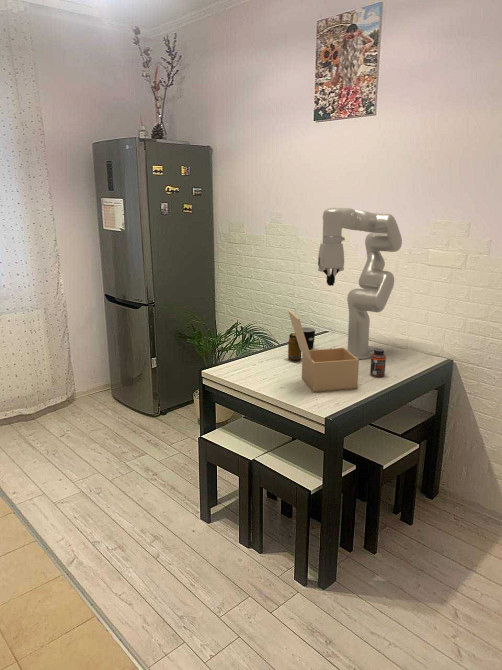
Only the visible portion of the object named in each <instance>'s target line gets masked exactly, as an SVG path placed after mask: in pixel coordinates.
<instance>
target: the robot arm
mask: <svg viewBox="0 0 502 670" xmlns="http://www.w3.org/2000/svg"><path fill="white" fill-rule="evenodd" d="M342 229H345V230H351V231H359V232H366V233H368V234H367V235H366V237H365V239H364V245H365V249H366V250H365V251H366V262H365V264H364V266H363V269H362V271H361V274H360V276H359V279H358V285H359V286H358V287H360V288H353V289H351V290H349V292H348V294H347V299H346V300H347V308H348V329H347V330H348V331H347V349H346V350H347V351H349V352H350V353H351V354H352V355H354V356H355V357H356V358H357V359H359V360H366V359H371V355H372V353H373V352H374V349H376V348H379V347H378V346H375V347H374V346H373V345H371V346H370V344H369V342H370V341H369V340H370V322H371V321H370V320H371V319H370V315H369V314H368V312H372V313H381V312H383V311H384V309H385V307H386V305H387V303H388V300H389V299H390V296H391V294H392V292H393V288H394V286H395V284H394V283H395V277H394V274H393V273H392V272H391V271H388V270H385V269H384V268H385V265H386V262H385V259H384V257H383V255H382V254H381V252H389V253H395V252H398V251H400V249H401V248H402V245H403V240H402V239H403V238H402V234H401V232H400V229H399V224H398V222H397V220H396V219H395V217H394V215H392V214H391V213H377V212H376V213H375V212H370V211H364V210H358V209H357V210H355V209H353V208H351V207H329V208H326V209H325V210H324V211H323V213H322V243H320V244H319V248H318V249H319V250H318V254H317V255H318V257H317V266H318V268H317V270H318V272H322V273H324V274H325V275H326V284H327V286H329V287H331V286H334V284H335V282H336V281H335V279H336V276H337V274H338V273H339V272H341V271H344V270H345V268H344V267H345V250H344V245H343V241H345V240H346V238H345V237H344V236H343V235H342V234H343V233H342V231H343V230H342Z"/></svg>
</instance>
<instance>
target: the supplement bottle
mask: <svg viewBox="0 0 502 670" xmlns="http://www.w3.org/2000/svg"><path fill="white" fill-rule="evenodd" d="M386 360H387V356H386V354H385V349H384V348H379V347H378V348H376V349H374V351H373V352H372V353H371V357H370V371H369V373H370V376H372V377H375V378H382V377H384V376H385V373H386V362H387V361H386Z"/></svg>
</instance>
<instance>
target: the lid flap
mask: <svg viewBox="0 0 502 670" xmlns="http://www.w3.org/2000/svg"><path fill="white" fill-rule="evenodd" d="M287 312H288V315H289V319H290V321H291V325H292V327H293V331H294V332H293V333H295V335H296V338H297V341H298V345H299V348H300V350H301V353H302V352H303V353H304V354H305V355H306V357H307V358H308V359H309V360H310V361H312V359H311V355H310V352H309V349H308V346H307V342H306V339H305V336H304V332H303V329H302V327H303V326H302V323H301V320H300V317H298V315H296V314H295V313H294V312H292V311H291V310H290V309H288V310H287Z"/></svg>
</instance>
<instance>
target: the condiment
mask: <svg viewBox="0 0 502 670" xmlns="http://www.w3.org/2000/svg"><path fill="white" fill-rule="evenodd" d="M288 338H289V339H288V345H287V357H286V358H284V360H286V361H289V362H292V363H295V364H299V363H302V351H301V350H300V348H299V345H298V341H297V338H296V335H295V332H291V333H290V334H289V336H288Z"/></svg>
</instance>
